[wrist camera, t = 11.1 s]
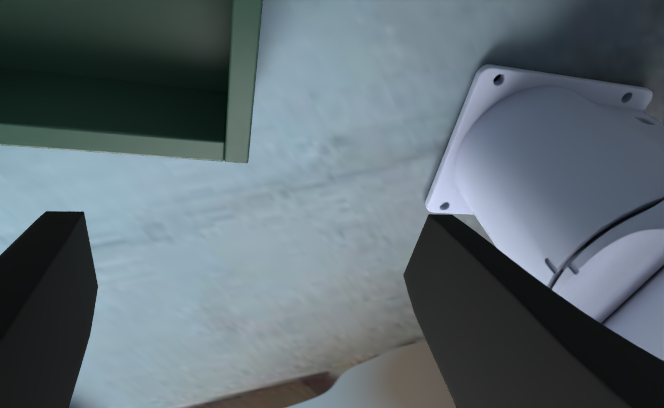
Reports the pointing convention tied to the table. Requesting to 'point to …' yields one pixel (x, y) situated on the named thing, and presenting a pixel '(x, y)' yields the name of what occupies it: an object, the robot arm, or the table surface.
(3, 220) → the table surface
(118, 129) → the tote
